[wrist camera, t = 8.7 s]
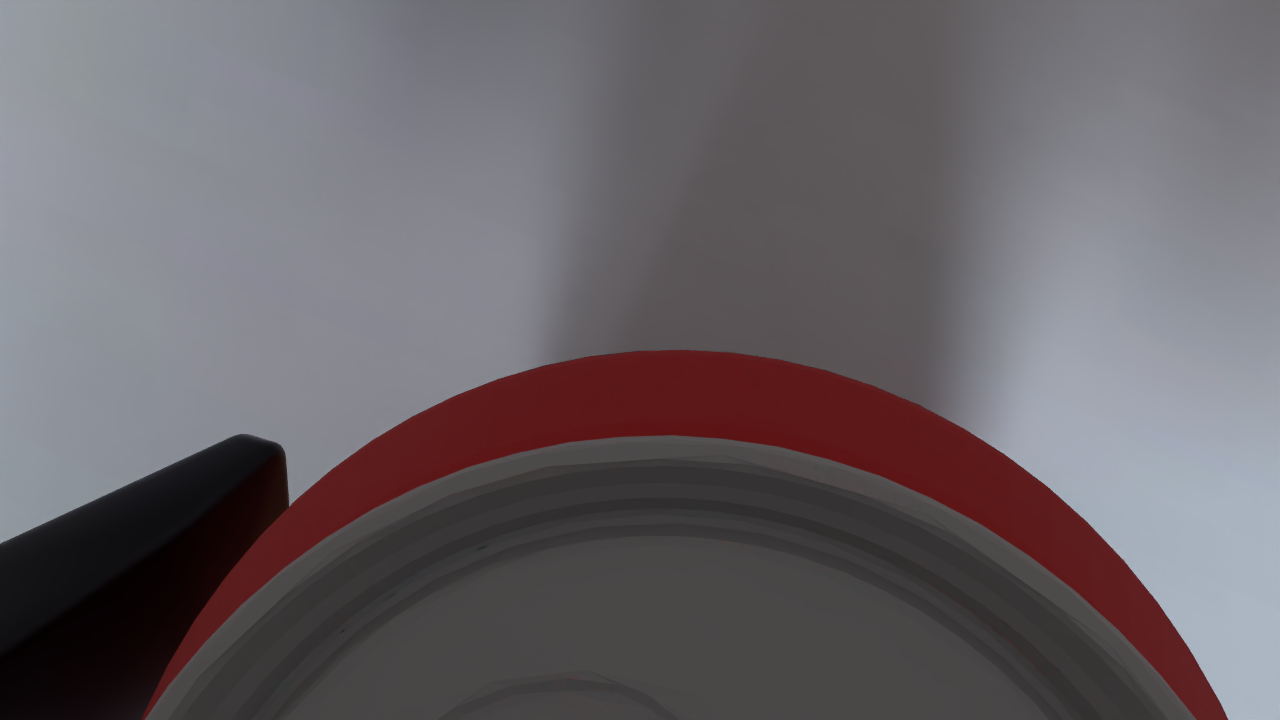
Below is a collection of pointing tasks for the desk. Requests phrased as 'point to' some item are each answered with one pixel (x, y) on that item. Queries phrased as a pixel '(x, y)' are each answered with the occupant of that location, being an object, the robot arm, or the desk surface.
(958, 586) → the beverage can
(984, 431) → the desk surface
